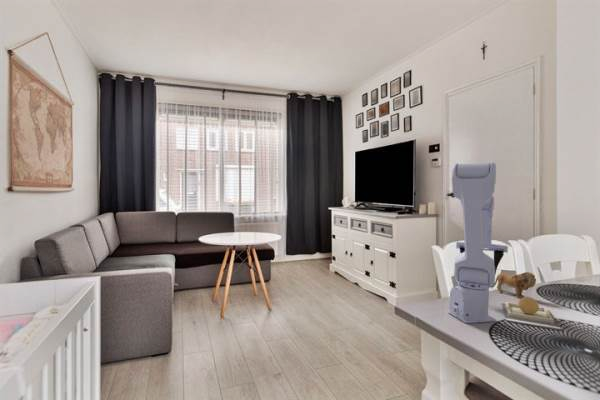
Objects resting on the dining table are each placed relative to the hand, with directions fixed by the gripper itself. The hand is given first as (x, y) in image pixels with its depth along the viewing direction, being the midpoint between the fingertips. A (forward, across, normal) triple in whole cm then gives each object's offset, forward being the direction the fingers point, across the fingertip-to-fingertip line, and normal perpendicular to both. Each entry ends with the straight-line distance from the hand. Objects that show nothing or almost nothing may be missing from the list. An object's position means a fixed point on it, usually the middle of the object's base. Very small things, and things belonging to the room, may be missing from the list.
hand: (480, 272), depth 104 cm
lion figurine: (+10, -10, -13) cm, 19 cm away
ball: (+7, -12, +7) cm, 16 cm away
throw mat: (+9, -12, +8) cm, 17 cm away
